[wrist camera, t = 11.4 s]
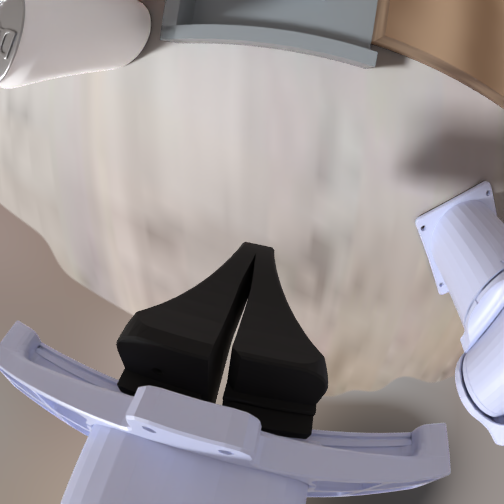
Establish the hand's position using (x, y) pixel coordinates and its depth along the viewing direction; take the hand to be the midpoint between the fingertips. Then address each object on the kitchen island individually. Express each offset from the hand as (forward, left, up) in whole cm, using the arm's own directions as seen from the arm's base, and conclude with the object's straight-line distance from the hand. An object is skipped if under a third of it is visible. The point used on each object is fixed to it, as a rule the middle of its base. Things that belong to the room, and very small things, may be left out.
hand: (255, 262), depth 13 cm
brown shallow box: (+4, -20, -10) cm, 22 cm away
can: (+18, +2, -10) cm, 21 cm away
